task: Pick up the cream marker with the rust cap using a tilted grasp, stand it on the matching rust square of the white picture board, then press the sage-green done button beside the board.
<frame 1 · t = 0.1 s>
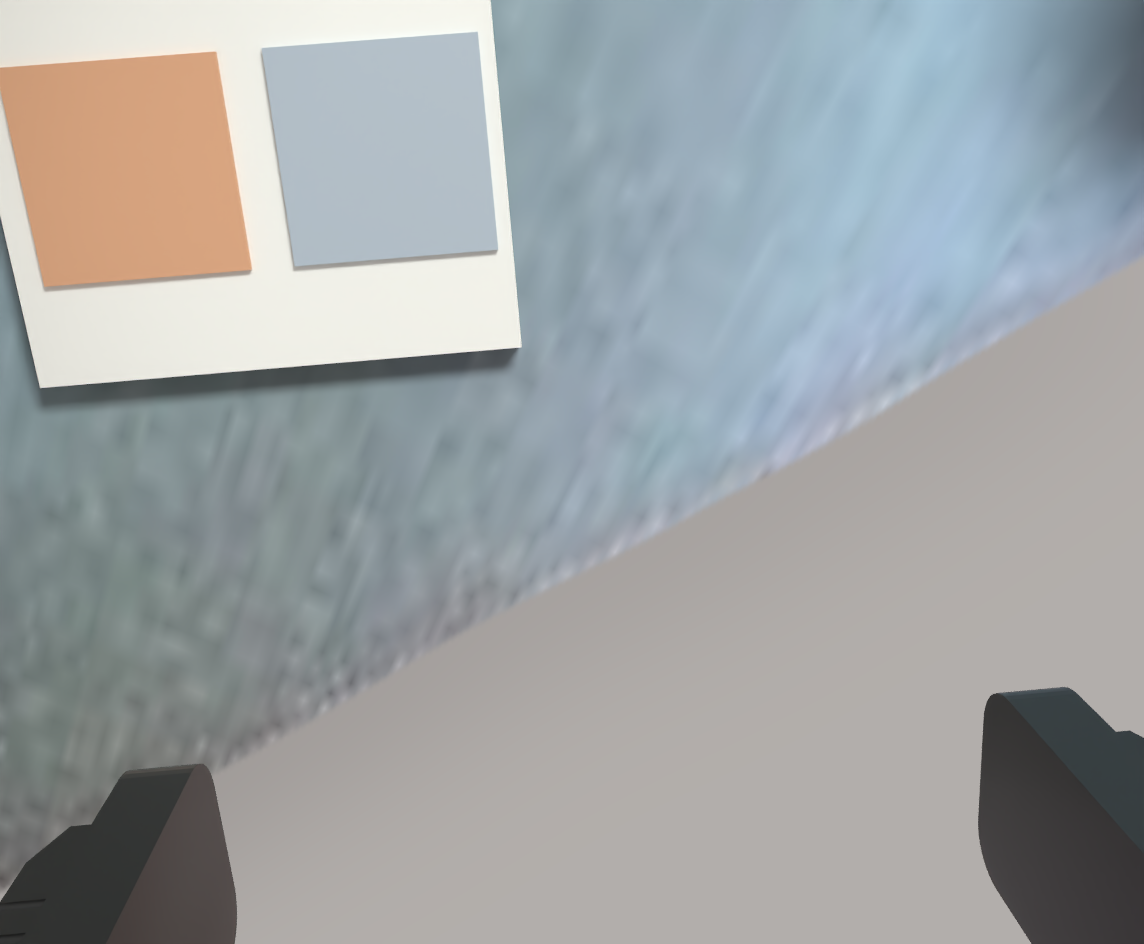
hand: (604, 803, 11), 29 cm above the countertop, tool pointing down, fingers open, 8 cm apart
picture board: (256, 162, 37), on the countertop
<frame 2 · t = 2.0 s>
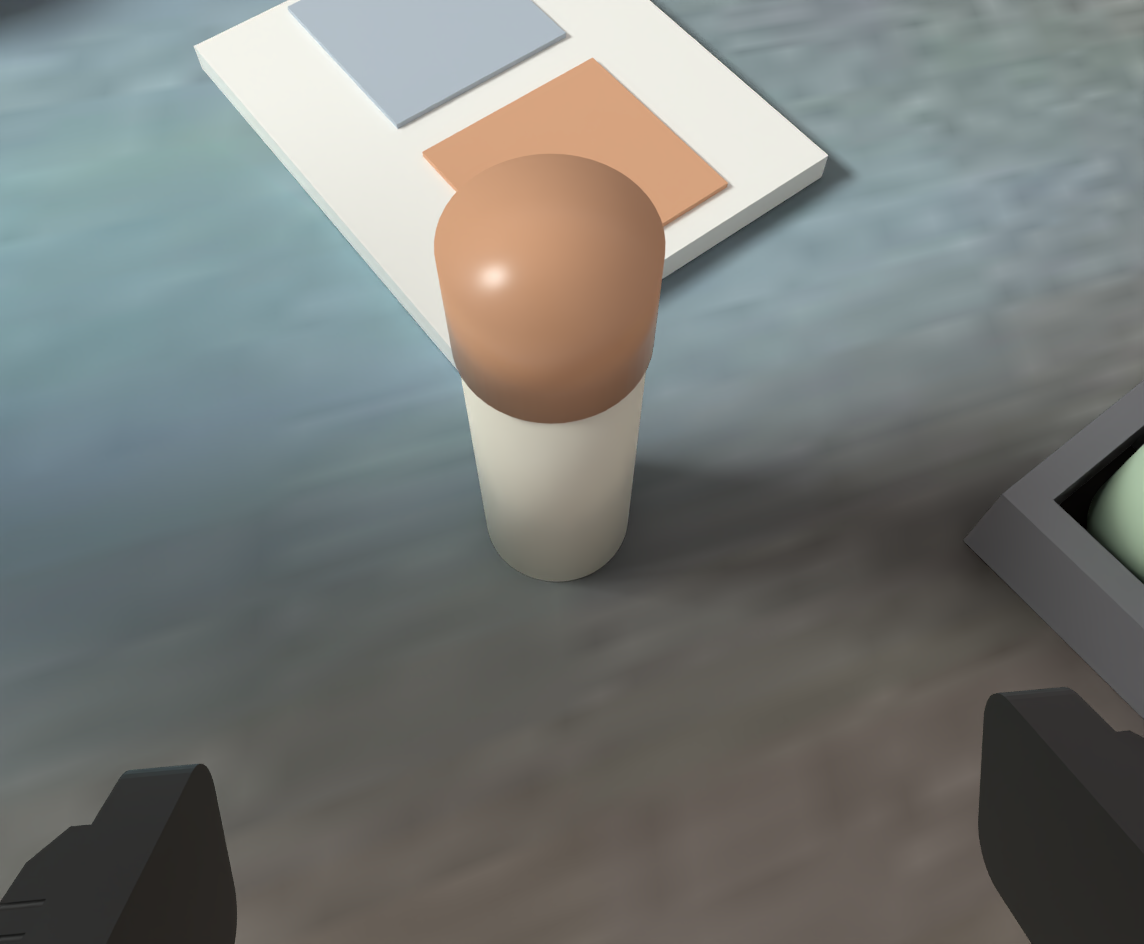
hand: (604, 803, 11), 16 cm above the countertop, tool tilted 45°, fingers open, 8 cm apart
marker: (557, 515, 30), on the countertop
picture board: (502, 121, 37), on the countertop
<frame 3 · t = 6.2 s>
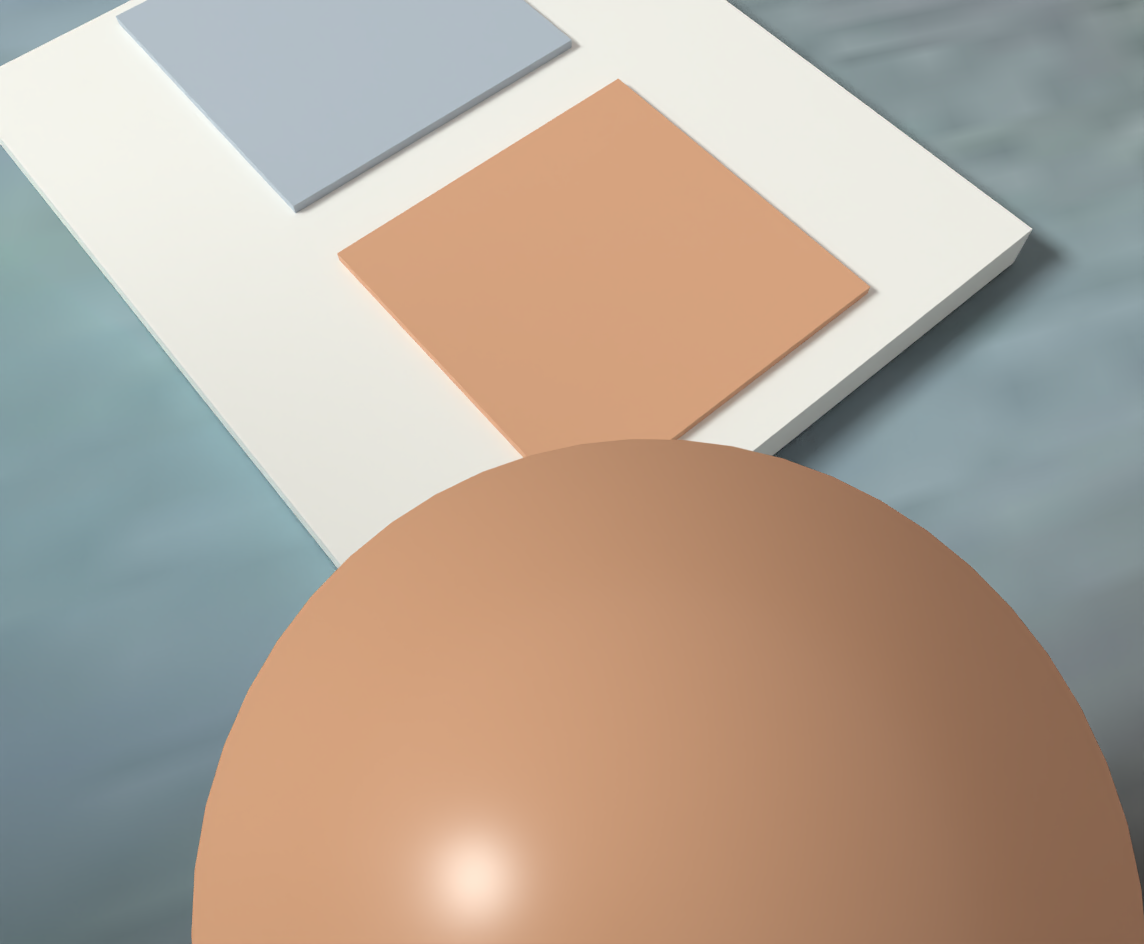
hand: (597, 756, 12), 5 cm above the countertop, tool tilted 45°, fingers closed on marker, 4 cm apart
picture board: (474, 189, 22), on the countertop
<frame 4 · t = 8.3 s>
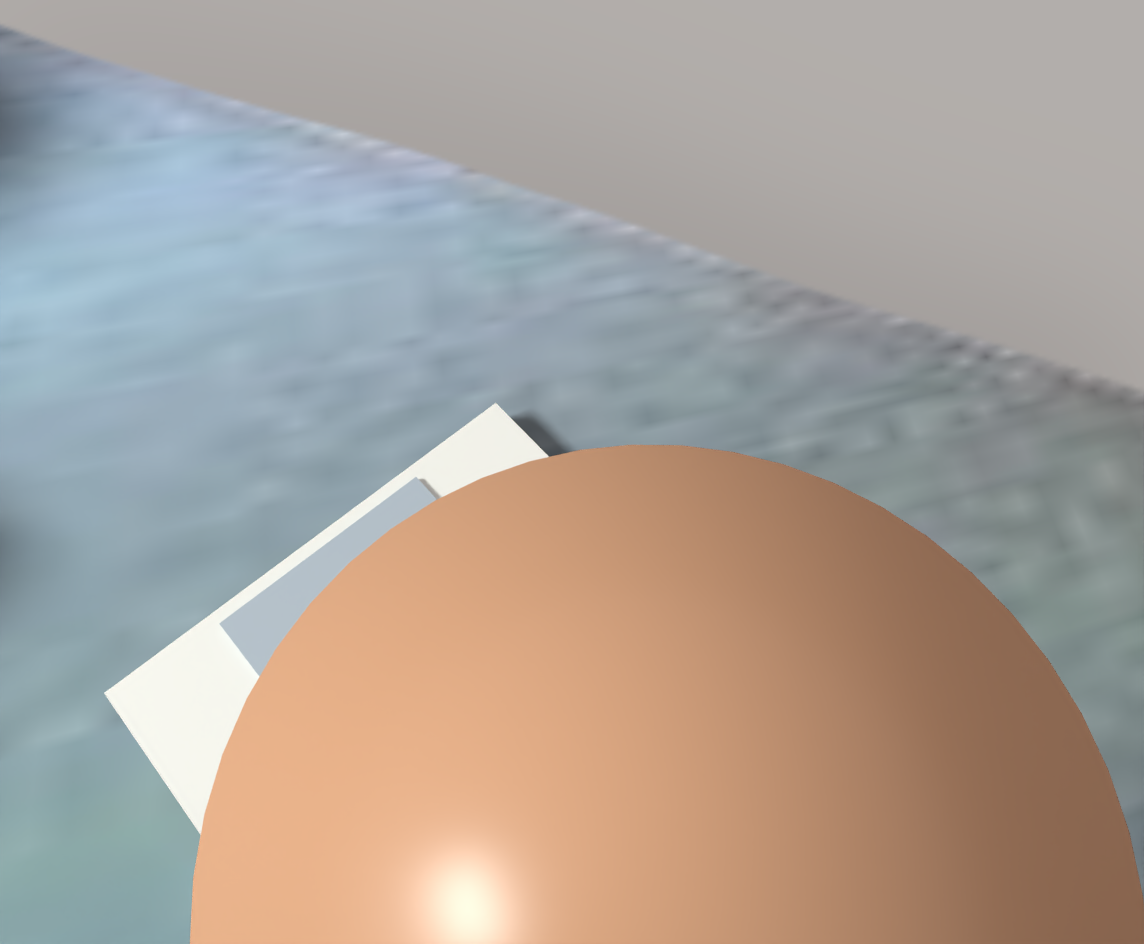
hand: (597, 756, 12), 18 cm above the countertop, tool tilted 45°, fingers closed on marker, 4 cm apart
picture board: (497, 764, 29), on the countertop
when the fingers open (7 cm above the countertop, at t = 10.8 s): marker drops 1 cm, resting on picture board.
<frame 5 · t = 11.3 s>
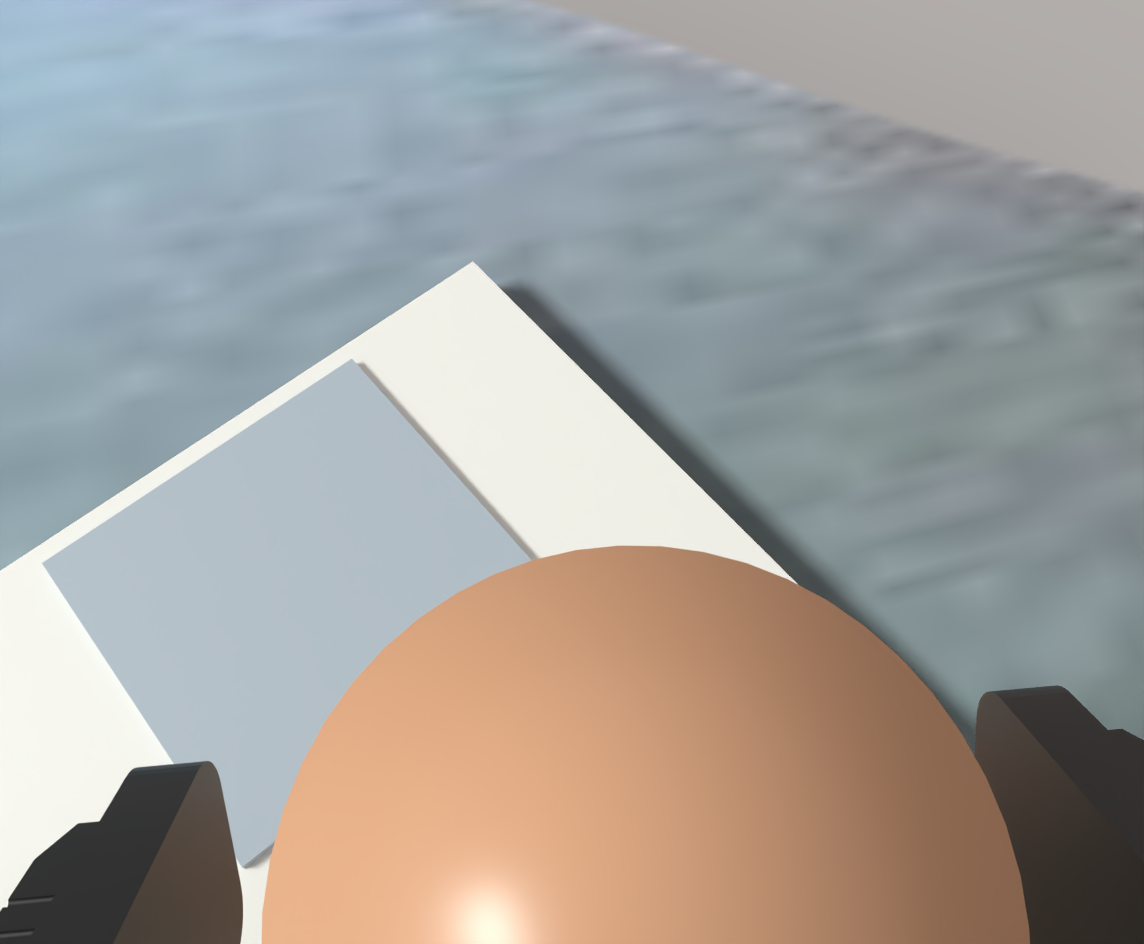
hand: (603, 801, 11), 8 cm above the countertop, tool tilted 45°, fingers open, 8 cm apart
picture board: (458, 787, 19), on the countertop
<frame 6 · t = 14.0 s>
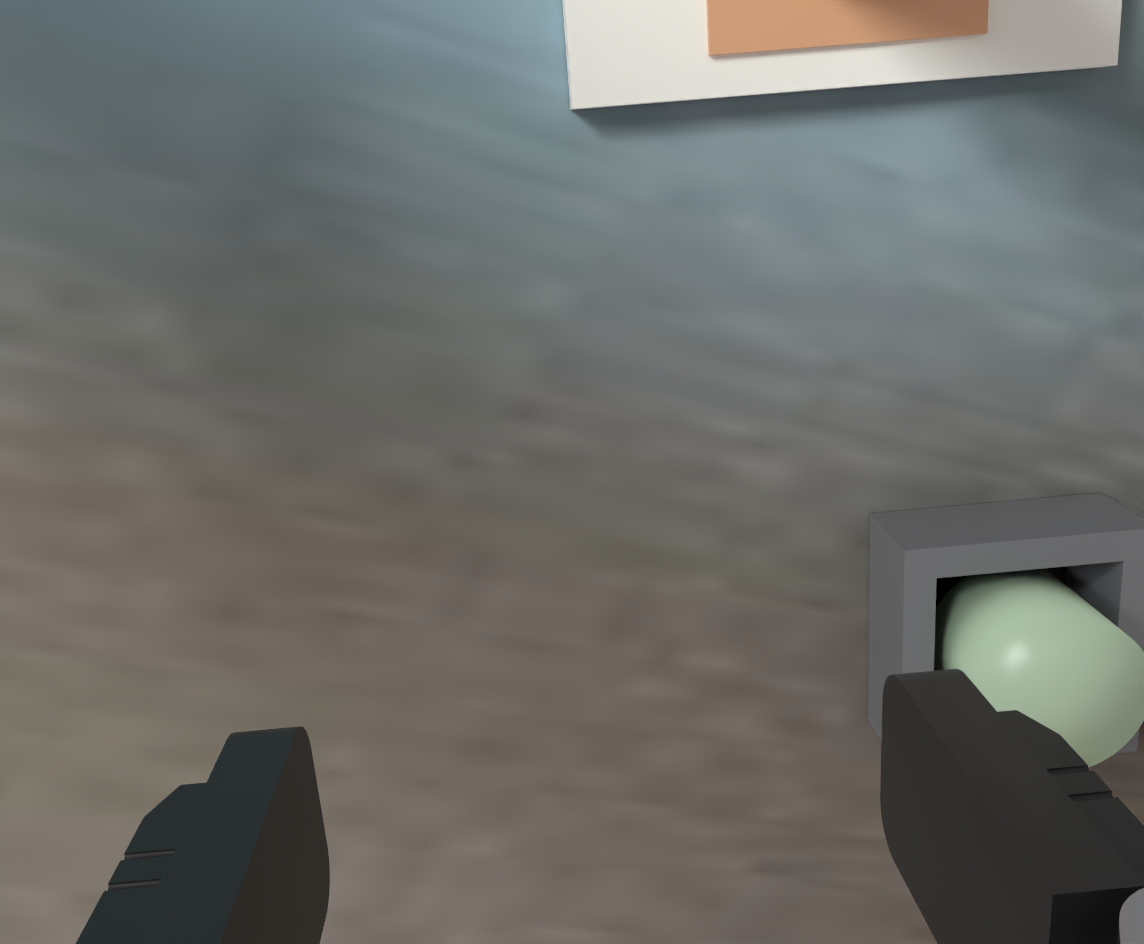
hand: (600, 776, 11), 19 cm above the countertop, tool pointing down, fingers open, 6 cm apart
done button: (1033, 663, 29), point 4 cm above the countertop, slide at 0.0 cm
button housing: (980, 609, 33), on the countertop
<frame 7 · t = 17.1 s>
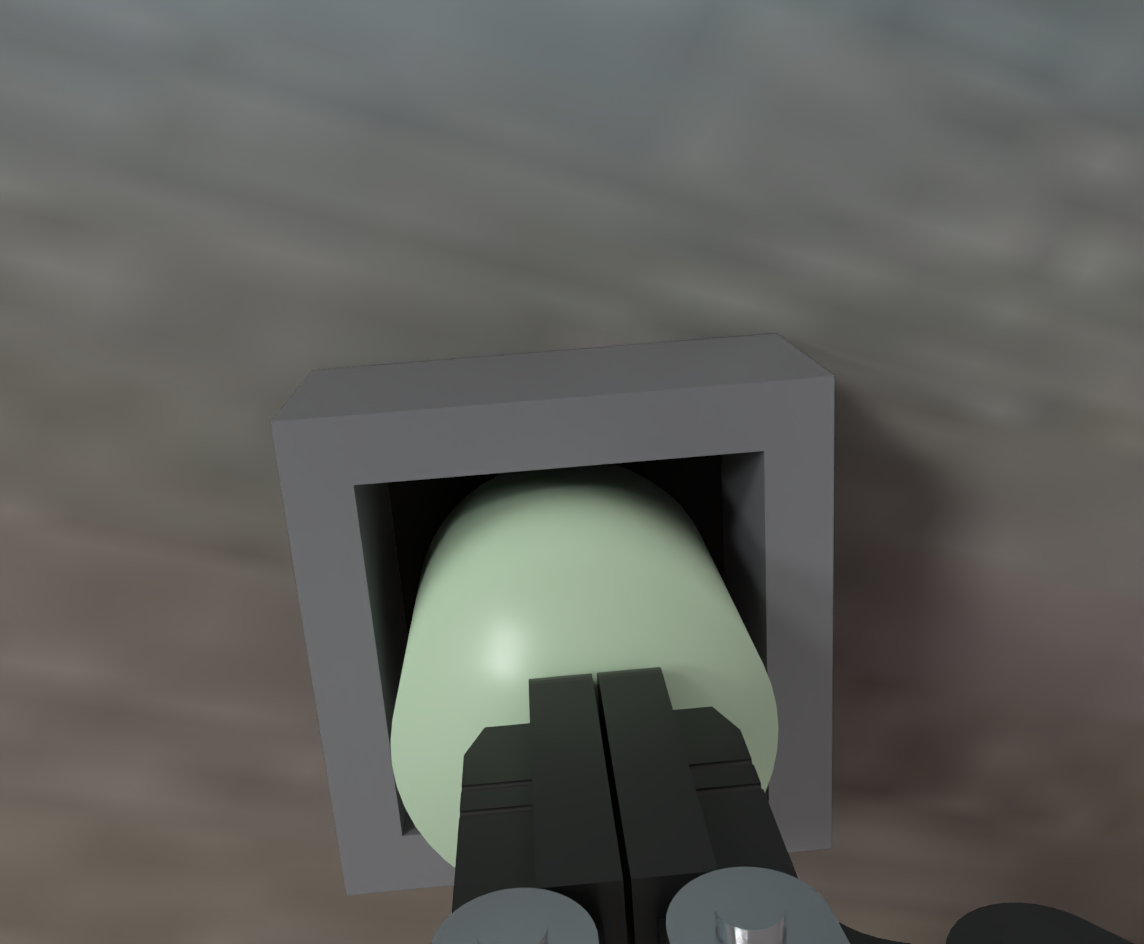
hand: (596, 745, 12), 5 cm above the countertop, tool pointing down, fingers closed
done button: (575, 662, 14), point 3 cm above the countertop, slide at 0.2 cm, touching gripper
button housing: (562, 566, 17), on the countertop
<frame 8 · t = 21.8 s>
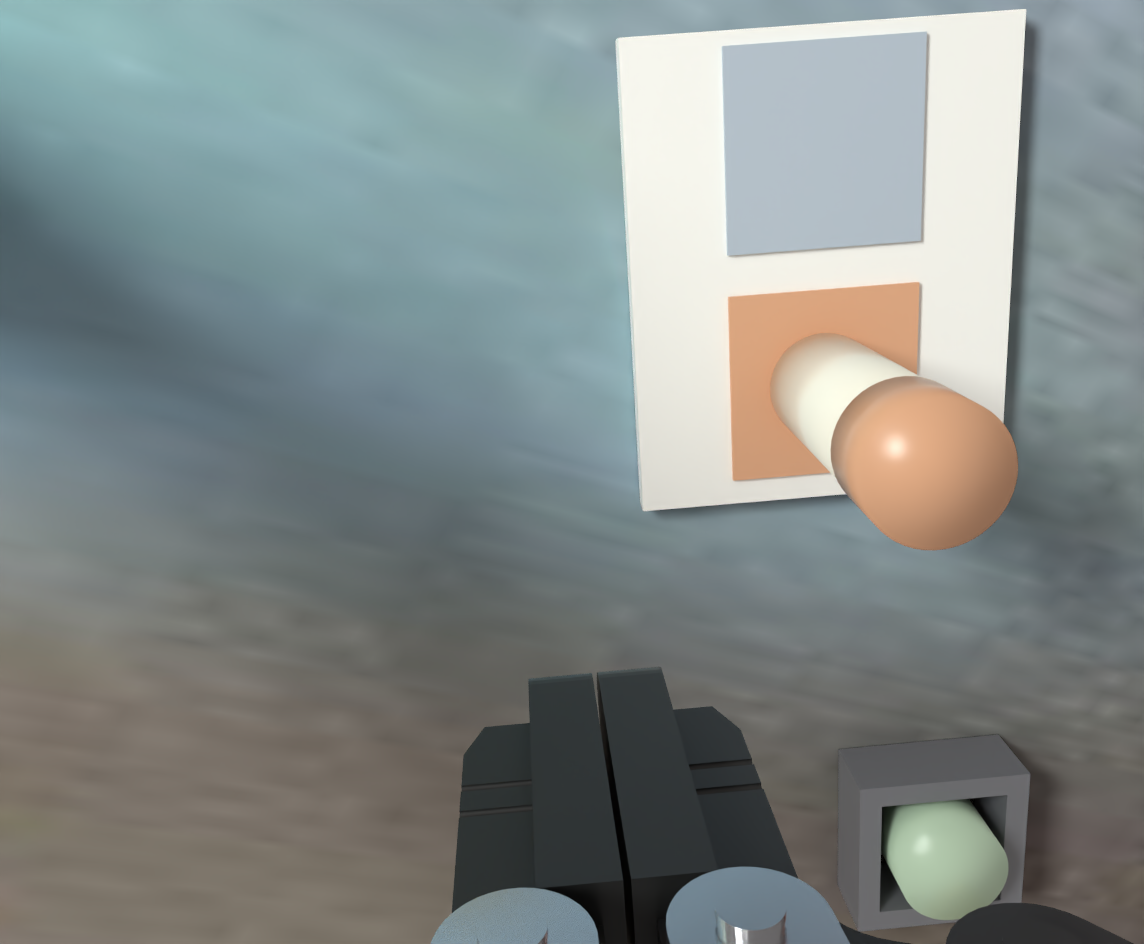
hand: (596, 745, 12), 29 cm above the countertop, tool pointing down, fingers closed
done button: (936, 843, 45), point 2 cm above the countertop, slide at 1.2 cm
marker: (823, 386, 40), point 1 cm above the countertop, touching picture board
button housing: (916, 810, 47), on the countertop
picture board: (815, 272, 40), on the countertop
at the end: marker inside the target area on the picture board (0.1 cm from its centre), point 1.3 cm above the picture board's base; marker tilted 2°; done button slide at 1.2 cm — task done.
